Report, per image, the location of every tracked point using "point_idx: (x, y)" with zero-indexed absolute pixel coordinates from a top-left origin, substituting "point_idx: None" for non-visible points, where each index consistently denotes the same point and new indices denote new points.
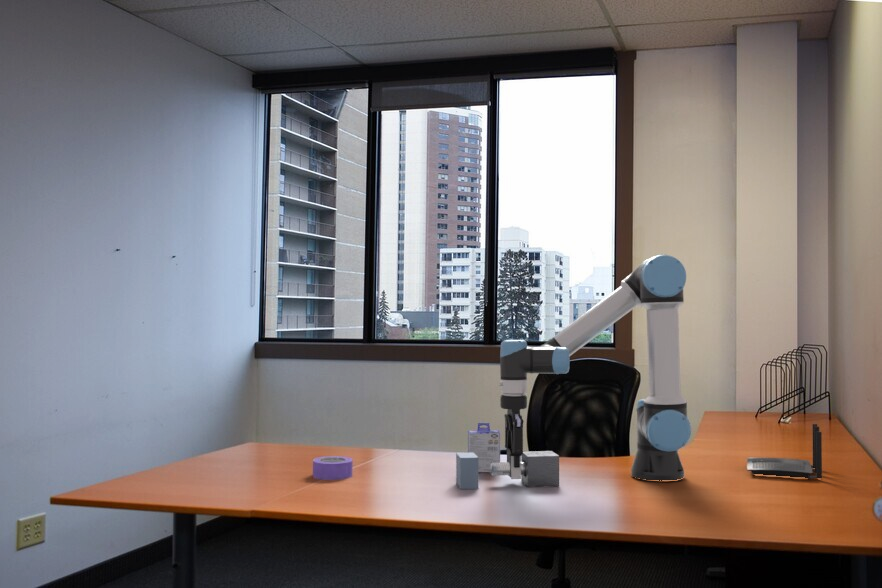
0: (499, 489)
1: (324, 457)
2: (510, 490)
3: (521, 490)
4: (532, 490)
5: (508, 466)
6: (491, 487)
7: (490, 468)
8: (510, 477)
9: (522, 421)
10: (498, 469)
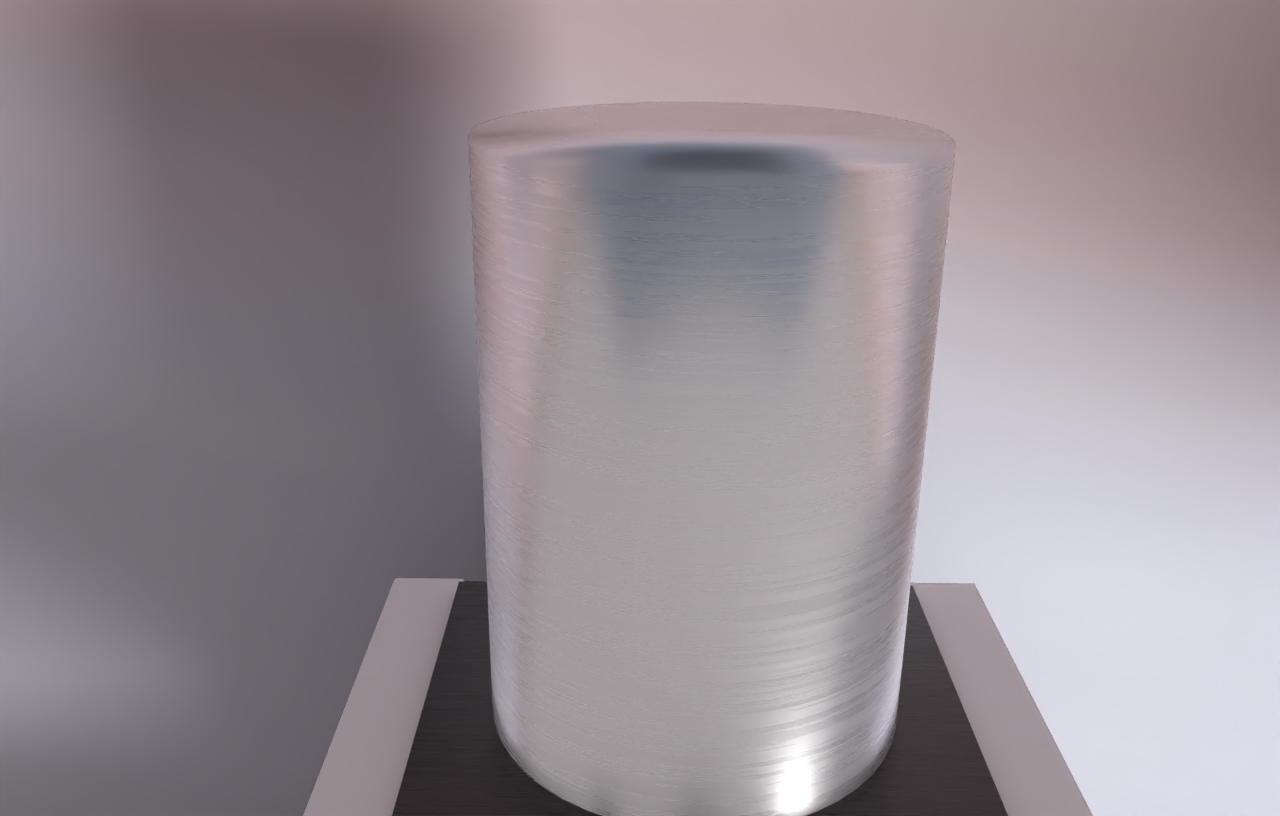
0: (200, 175)
1: None
2: (97, 399)
3: (102, 611)
4: (106, 796)
5: (507, 718)
6: (435, 20)
7: (877, 133)
8: (461, 581)
9: None
10: (478, 353)
